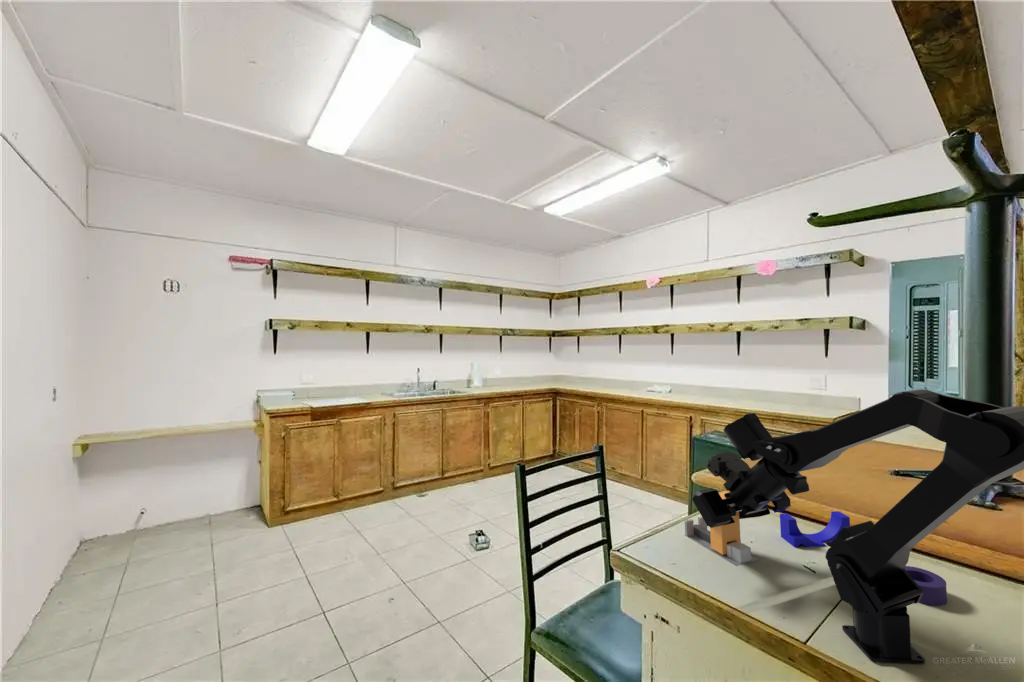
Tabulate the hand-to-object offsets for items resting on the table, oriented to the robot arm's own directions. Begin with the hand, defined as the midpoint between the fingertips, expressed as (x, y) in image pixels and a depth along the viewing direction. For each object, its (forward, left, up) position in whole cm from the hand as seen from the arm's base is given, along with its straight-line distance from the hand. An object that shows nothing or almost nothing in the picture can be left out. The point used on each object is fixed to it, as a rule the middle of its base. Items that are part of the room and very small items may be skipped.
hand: (719, 519), depth 86 cm
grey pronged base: (+1, 0, -7) cm, 7 cm away
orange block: (-1, -1, -6) cm, 6 cm away
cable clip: (+3, -20, -7) cm, 21 cm away
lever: (-11, -24, -7) cm, 28 cm away
